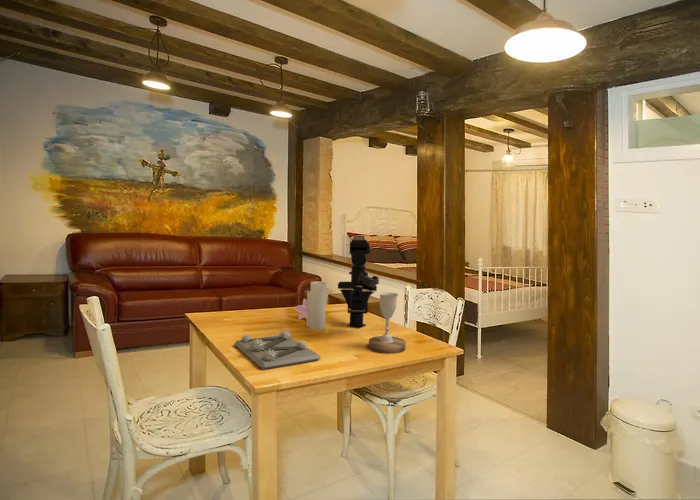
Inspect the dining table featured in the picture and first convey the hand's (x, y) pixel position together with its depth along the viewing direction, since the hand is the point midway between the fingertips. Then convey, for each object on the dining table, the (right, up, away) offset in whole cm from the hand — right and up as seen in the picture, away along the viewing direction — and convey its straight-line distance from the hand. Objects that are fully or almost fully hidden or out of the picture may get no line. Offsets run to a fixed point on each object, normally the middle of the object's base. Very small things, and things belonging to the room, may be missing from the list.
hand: (357, 307), depth 179 cm
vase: (-18, -11, +16) cm, 27 cm away
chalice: (+11, -11, -11) cm, 19 cm away
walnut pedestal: (+11, -14, -12) cm, 21 cm away
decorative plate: (-30, -14, -21) cm, 39 cm away
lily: (-23, -9, +29) cm, 38 cm away
